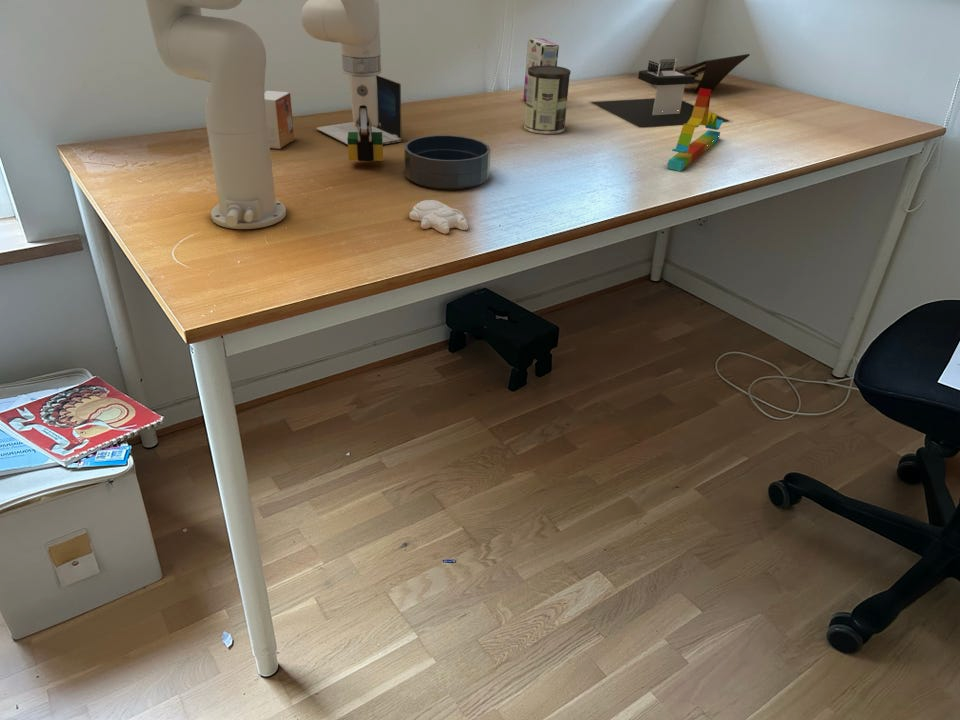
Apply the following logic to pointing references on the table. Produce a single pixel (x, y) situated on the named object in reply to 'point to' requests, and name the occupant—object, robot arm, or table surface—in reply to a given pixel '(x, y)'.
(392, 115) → the laptop
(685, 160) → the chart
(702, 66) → the laptop tray
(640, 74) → the black-topped pedestal
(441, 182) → the bowl
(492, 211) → the table surface
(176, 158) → the table surface
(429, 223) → the white flat figure
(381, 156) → the sponge
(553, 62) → the candy bar box
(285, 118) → the small box
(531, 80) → the coffee can
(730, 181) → the table surface
